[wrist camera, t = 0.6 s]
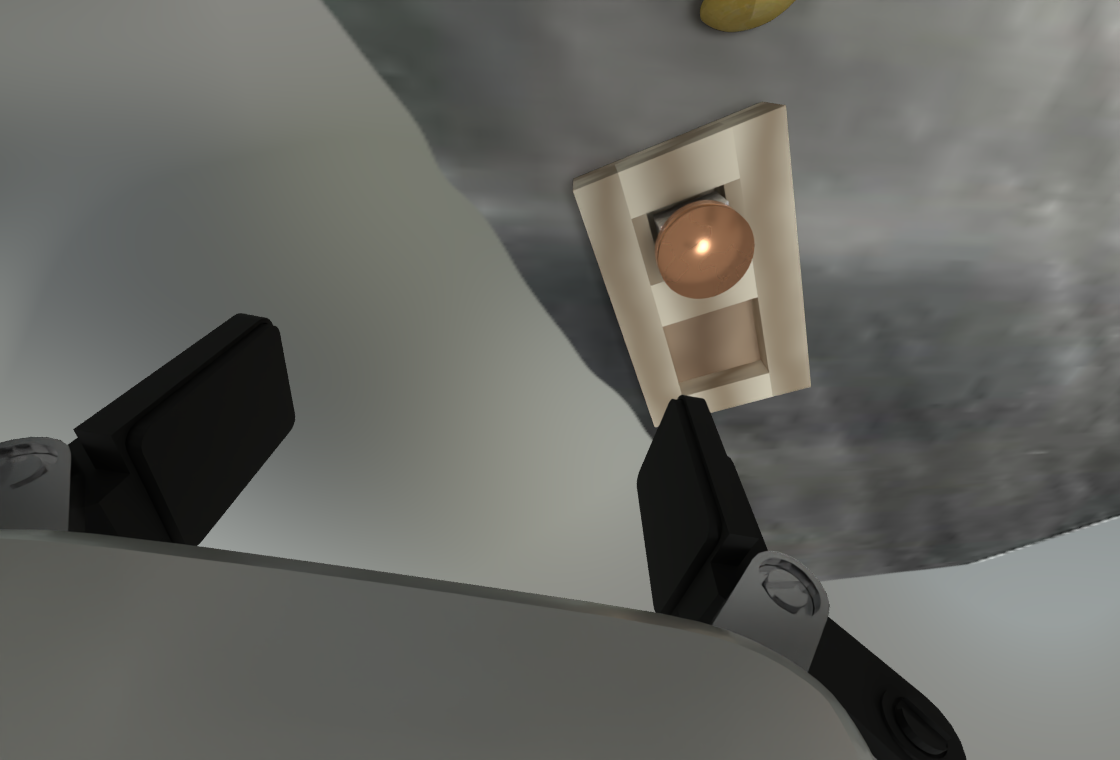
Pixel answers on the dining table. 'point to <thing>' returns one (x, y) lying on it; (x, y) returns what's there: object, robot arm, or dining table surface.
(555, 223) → the dining table surface
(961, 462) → the dining table surface
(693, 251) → the plunger
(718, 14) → the knob
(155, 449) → the robot arm
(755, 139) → the mount
